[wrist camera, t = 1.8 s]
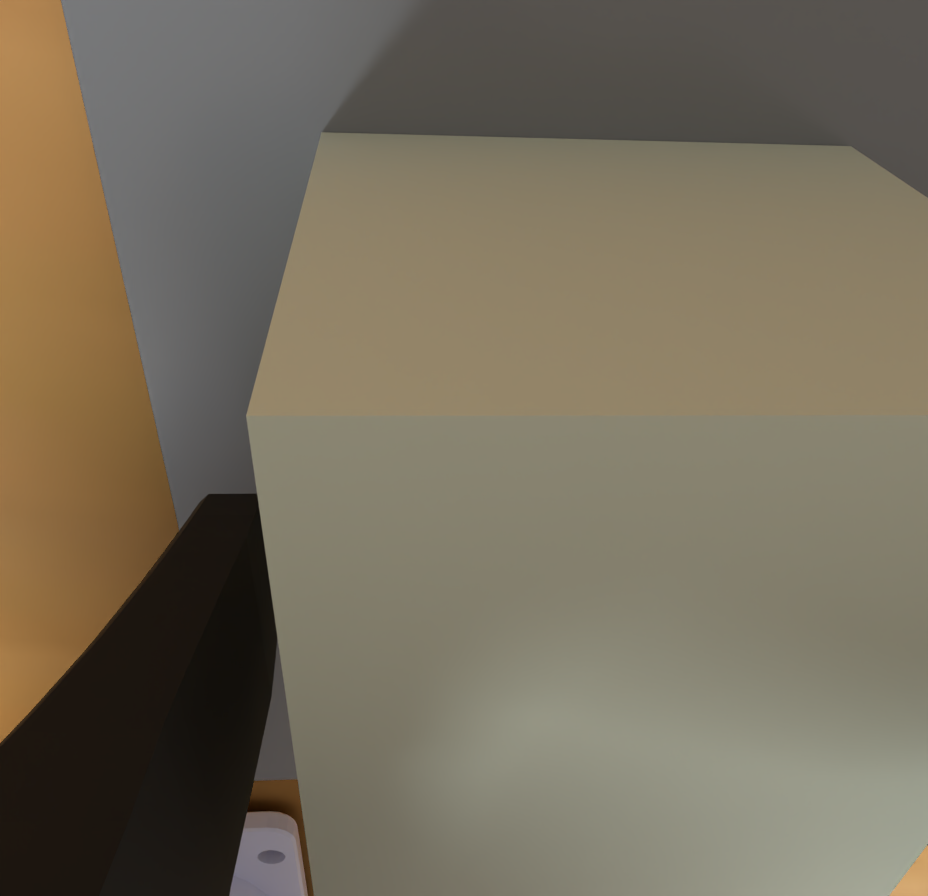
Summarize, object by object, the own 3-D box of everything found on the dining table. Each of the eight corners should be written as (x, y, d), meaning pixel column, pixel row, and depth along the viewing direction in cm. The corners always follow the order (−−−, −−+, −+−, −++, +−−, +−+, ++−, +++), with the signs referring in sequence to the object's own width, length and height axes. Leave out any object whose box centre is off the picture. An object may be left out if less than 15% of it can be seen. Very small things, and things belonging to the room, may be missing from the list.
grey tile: (763, 753, 16) (767, 763, 16) (236, 771, 15) (234, 781, 15) (1168, -137, 7) (1186, -135, 7) (25, -199, 7) (16, -201, 6)
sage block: (678, 684, 14) (791, 1024, 10) (354, 693, 13) (336, 1053, 9) (851, 146, 9) (1252, 415, 5) (321, 131, 8) (246, 416, 4)
